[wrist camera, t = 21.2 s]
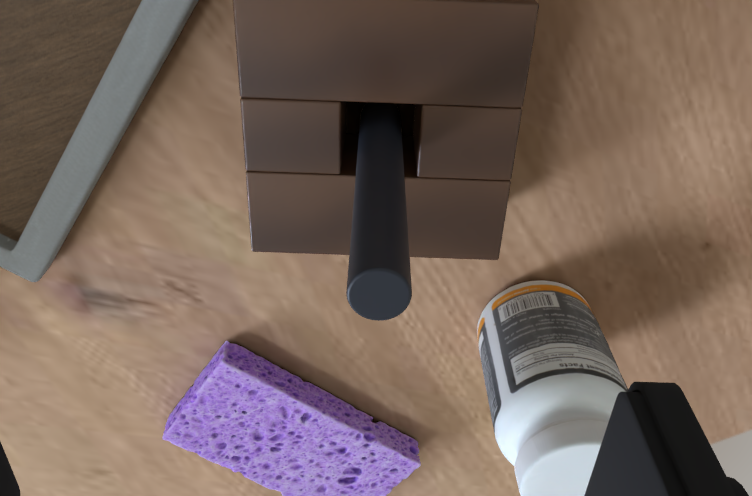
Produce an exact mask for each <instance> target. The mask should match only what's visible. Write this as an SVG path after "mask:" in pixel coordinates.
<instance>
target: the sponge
mask: <svg viewBox="0 0 752 496" xmlns="http://www.w3.org/2000/svg"><path fill="white" fill-rule="evenodd" d="M372 419H373V417H371V416H369V415H368V414H366V413H364V412H362V411H359V410H356V409H355V408H354V407H353V406H352V405H350V404H348V403H346V402H344V401H343V400H341V399H339V398H337V397H335V396H333V395H332V394H330V393H328V392H326V391H324V390H322V389H321V388H319V387H317V386H315V385H313V384H311V383H309V382H303V381H302V379H301V378H299V377H297V376H295V375H293V374H291V373H289V372H288V371H286V370H284V369H281V368H280V367H279V366H277V365H274V364H272V363H271V362H269V361H267V360H266V359H264V358H263V357H260V356H257V355H255V354H254V353H253V352H250V351H248V350H247V349H245V348H244V347H242V346H238V345H237V344H232V343H229V342H228V341H226V342H225V343H224V344H223V345H222V346H221V348H220V349H219V350H218V351H217V353H216V354H215V355H214V357H213V358H212V360H211V361H210V362H209V364H208V365H207V366H206V367H205V368H204V369H203V370H202V372H201V374H200V375H199V377H197V379H196V380H195V382H194V385H193V386H192V387H190V389H189V390H188V391H187V392H186V394H185V396H184V398H182V399H181V400H180V402H179V403H178V404H177V406H176V407H175V408H174V410H173V411H172V412H171V414H170V415H169V417H168V420H167V423H166V426H165V431H164V435H163V439H164V440H168V441H170V442H171V443H172V444H174V445H177V446H179V447H181V448H183V449H186V450H187V451H192V452H195V453H198V455H199V456H201V457H203V458H205V459H207V460H209V461H211V462H213V463H216V464H220V465H221V466H223V467H227V468H230V469H231V470H232V471H233V472H238V471H239V472H241V473H242V474H243V476H244V477H246V478H249V479H251V480H252V481H255V482H256V483H258V484H261V485H263V486H264V487H266V488H268V489H274V490H278V491H280V492H282V495H283V496H386V495H387V494H388V493H390V492H391V491H392V488H393V487H394V486H397V485H398V484H399V483H400V482H401V481H402V480H403V479H406V478H407V477H408V476H409V475H410V474H411V473H412V472H413V471H414V470H415V469H416V468H418V467H419V466H420V465H421V463H420V459H419V456H418V453H419V448H418V442H417V441H416V440H415V439H413V438H412V437H409V436H408V435H406V434H403V433H401V432H399V431H398V430H397V429H395V428H392V427H390V426H388V425H387V424H385V423H383V422H381V421H379V422H377V423H374V422H372Z"/></svg>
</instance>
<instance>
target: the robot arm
mask: <svg viewBox="0 0 752 496" xmlns="http://www.w3.org/2000/svg"><path fill="white" fill-rule="evenodd" d="M0 496H20V489H19V486H18V483H17V481H16V479H15V476H14V474H13V471H12V469H11V466H10V464H9V462H8V459H7V457H6V454H5V452H4V450H3V447H2V445H1V442H0ZM584 496H749V495H748V494H747V492H746V491H745V489H744V488H743V486H742V485H741V484H740V483H739V482H737V481H736V480H735V479H734V478H730V477H726V475H725V473H724V471H723V469H722V467H721V465H720V463H719V461H718V459H717V457H716V455H715V453H714V451H713V450H712V448H711V446H710V444H709V442H708V440H707V438H706V436H705V434H704V432H703V430H702V428H701V426H700V424H699V422H698V420H697V418H696V417H695V415H694V413H693V411H692V409H691V407H690V405H689V403H688V401H687V399H686V397H685V395H684V393H683V391H682V390H681V388H680V387H679V386H678V385H677V384H675V383H657V382H634V383H633V384H631V386H630V388H629V390H628V392H620V393H618V395H617V398H616V401H615V404H614V407H613V410H612V413H611V416H610V419H609V422H608V425H607V428H606V431H605V434H604V437H603V440H602V443H601V446H600V450H599V453H598V456H597V459H596V462H595V465H594V468H593V471H592V474H591V477H590V480H589V483H588V486H587V489H586V492H585V495H584Z"/></svg>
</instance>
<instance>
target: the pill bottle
mask: <svg viewBox="0 0 752 496" xmlns="http://www.w3.org/2000/svg"><path fill="white" fill-rule="evenodd" d="M477 338H478V346H479V352H480V357H481V362H482V368H483V373H484V379H485V385H486V390H487V395H488V401H489V406H490V412H491V417H492V422H493V427H494V433H495V437H496V441H497V443H498V445H499V447H500V449H501V451H502V453H503V454H504V456H505V457H506V458H507V459H508V460H509V462H511V463H512V464H513V465H514V466H515V475H516V479H517V483H518V487H519V491H520V495H521V496H584V495H585V492H586V489H587V486H588V483H589V480H590V477H591V474H592V471H593V468H594V465H595V462H596V459H597V456H598V453H599V450H600V446H601V443H602V440H603V437H604V434H605V431H606V428H607V425H608V422H609V419H610V416H611V413H612V410H613V407H614V404H615V401H616V398H617V395H618V393H620V392H628V388H627V386H626V384H625V382H624V380H623V378H622V375H621V373H620V371H619V369H618V366H617V364H616V362H615V360H614V357H613V355H612V353H611V351H610V348H609V346H608V343H607V341H606V339H605V337H604V335H603V333H602V331H601V329H600V326H599V324H598V322H597V320H596V318H595V316H594V314H593V312H592V310H591V308H590V306H589V304H588V303H587V301H586V300H585V299H584V297H583V296H581V295H580V294H579V293H578V292H577V291H575V290H574V289H572V288H571V287H569V286H566V285H564V284H561V283H557V282H552V281H546V280H540V281H529V282H524V283H520V284H517V285H514V286H511V287H509V288H508V289H506V290H504V291H503V292H501V293H499V294H497V295H496V296H495V297H494V298H493V299H492V300H491V301H490V302H489V303H488V304H487V306H486V307H485V309H484V310H483V312H482V314H481V316H480V319H479V321H478V328H477Z"/></svg>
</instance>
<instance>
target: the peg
mask: <svg viewBox="0 0 752 496" xmlns="http://www.w3.org/2000/svg"><path fill="white" fill-rule="evenodd" d="M411 296H412V289H411V273H410V257H409V241H408V225H407V209H406V194H405V178H404V162H403V146H402V130H401V115H400V111H399V109H398V107H397V106H396V104H394V103H376V102H368V103H366V104H365V106H364V107H363V109H362V111H361V114H360V127H359V139H358V152H357V165H356V178H355V191H354V204H353V216H352V229H351V242H350V255H349V268H348V281H347V299H348V302H349V304H350V306H351V307H352V308H353V310H354V311H355V312H356V313H358V314H359V315H361V316H362V317H365V318H367V319H371V320H388V319H391V318H394V317H396V316H398V315H399V314H401V313H402V312H403V311H404V310H405V309H406V308H407V306H408V305H409V303H410V300H411Z"/></svg>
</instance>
